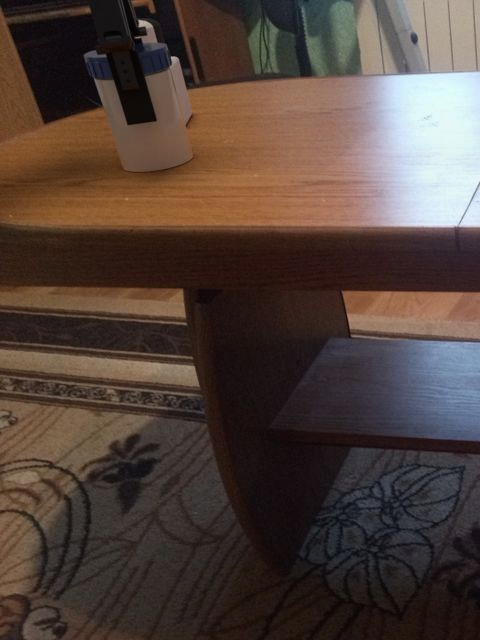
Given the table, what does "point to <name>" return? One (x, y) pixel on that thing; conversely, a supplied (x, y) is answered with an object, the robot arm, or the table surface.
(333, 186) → the table surface
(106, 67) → the jar lid
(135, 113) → the robot arm
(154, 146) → the jar
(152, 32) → the medicine bottle
